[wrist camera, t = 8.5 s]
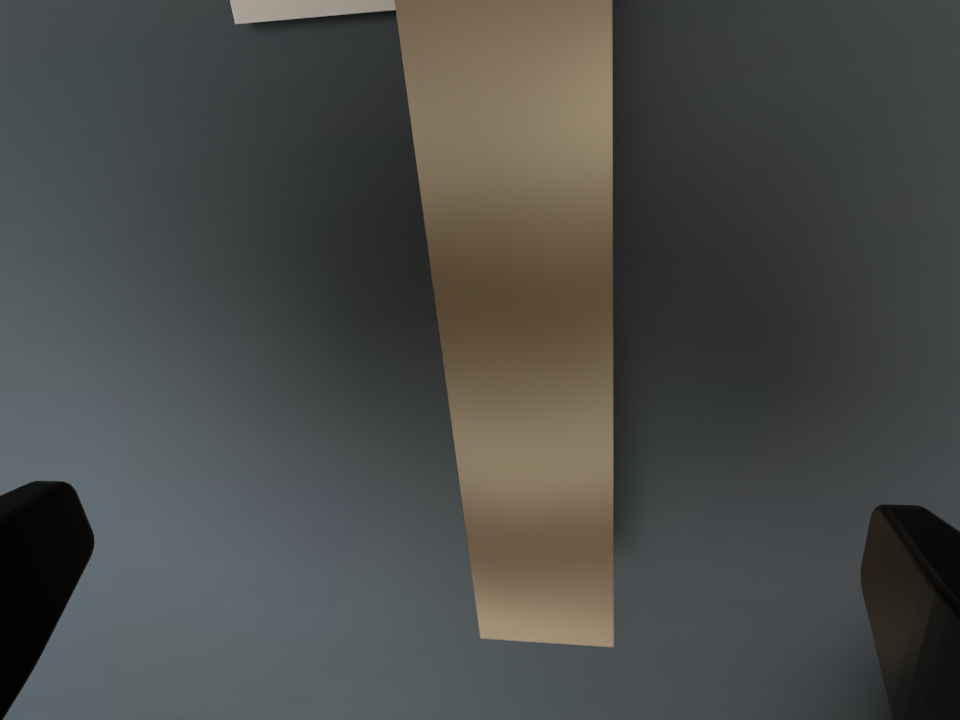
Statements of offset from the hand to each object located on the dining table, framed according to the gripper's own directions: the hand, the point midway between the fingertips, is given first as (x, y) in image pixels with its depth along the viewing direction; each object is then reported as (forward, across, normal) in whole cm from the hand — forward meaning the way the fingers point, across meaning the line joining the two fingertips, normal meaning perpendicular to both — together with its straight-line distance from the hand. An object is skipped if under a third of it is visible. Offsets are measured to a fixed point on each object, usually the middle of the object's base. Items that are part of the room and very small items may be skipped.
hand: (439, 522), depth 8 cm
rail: (+11, 0, 0) cm, 11 cm away
